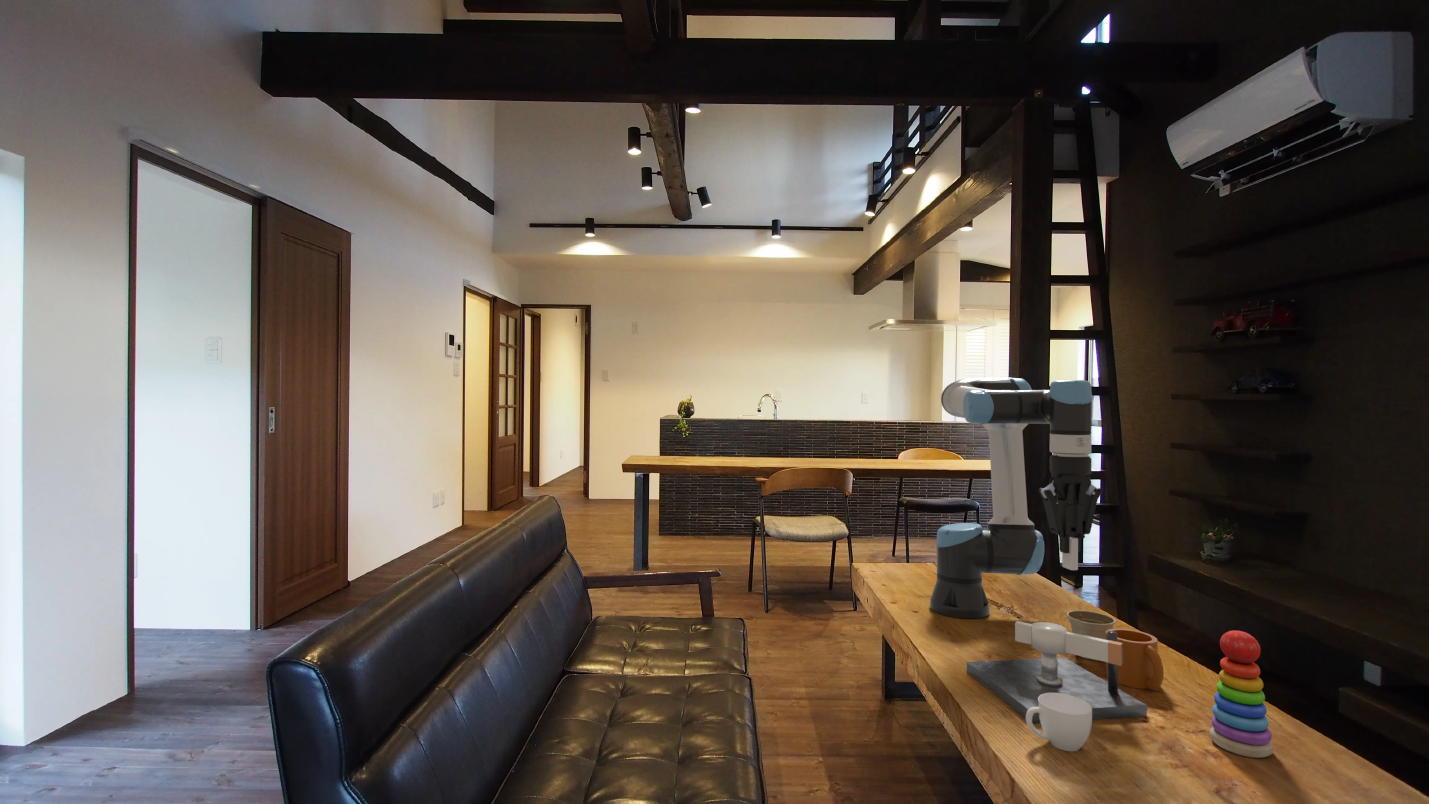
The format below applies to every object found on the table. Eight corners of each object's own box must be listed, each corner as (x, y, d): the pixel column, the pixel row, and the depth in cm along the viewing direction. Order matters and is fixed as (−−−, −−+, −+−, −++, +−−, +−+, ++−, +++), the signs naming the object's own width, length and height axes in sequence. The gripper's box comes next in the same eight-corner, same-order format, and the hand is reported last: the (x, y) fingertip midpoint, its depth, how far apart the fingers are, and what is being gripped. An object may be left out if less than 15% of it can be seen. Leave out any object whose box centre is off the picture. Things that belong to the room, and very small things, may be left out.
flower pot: (1123, 665, 134) (1123, 625, 134) (1075, 662, 136) (1075, 622, 136) (1105, 649, 143) (1105, 611, 144) (1060, 646, 145) (1060, 609, 145)
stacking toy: (1196, 735, 105) (1195, 623, 106) (1240, 733, 106) (1239, 621, 106) (1240, 761, 97) (1238, 640, 98) (1287, 759, 98) (1285, 638, 98)
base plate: (966, 671, 131) (966, 609, 131) (1064, 666, 134) (1063, 605, 134) (1031, 723, 109) (1030, 648, 110) (1146, 716, 112) (1145, 642, 112)
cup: (1102, 758, 98) (1102, 714, 98) (1037, 756, 99) (1037, 713, 99) (1076, 733, 106) (1076, 692, 106) (1016, 731, 106) (1015, 691, 107)
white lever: (1011, 644, 124) (1011, 624, 124) (1021, 636, 128) (1021, 616, 128) (1118, 669, 111) (1118, 647, 111) (1125, 660, 116) (1124, 638, 116)
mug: (1128, 695, 120) (1127, 648, 121) (1098, 670, 132) (1096, 627, 132) (1179, 697, 119) (1177, 649, 119) (1143, 672, 131) (1142, 628, 131)
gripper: (1053, 457, 125) (1053, 574, 125) (1112, 455, 127) (1112, 572, 127) (1029, 453, 132) (1029, 564, 133) (1085, 452, 134) (1085, 562, 135)
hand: (1070, 568), depth 130 cm, fingers closed
